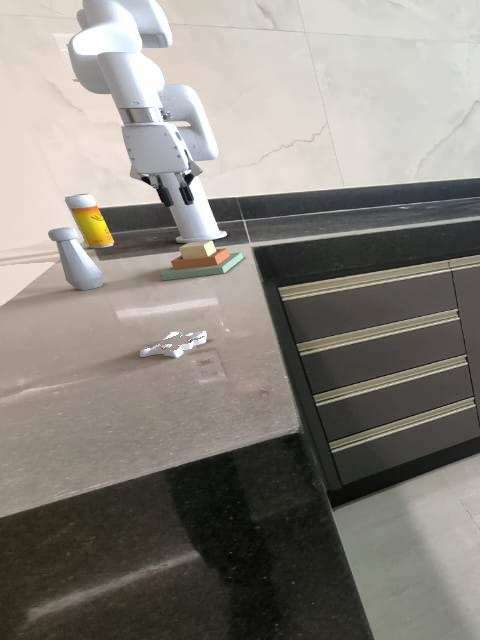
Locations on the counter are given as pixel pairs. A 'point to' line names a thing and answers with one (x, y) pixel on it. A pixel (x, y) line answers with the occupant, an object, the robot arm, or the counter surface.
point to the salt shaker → (75, 260)
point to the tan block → (197, 249)
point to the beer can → (89, 220)
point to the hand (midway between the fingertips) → (179, 204)
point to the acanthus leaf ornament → (182, 347)
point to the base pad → (202, 265)
